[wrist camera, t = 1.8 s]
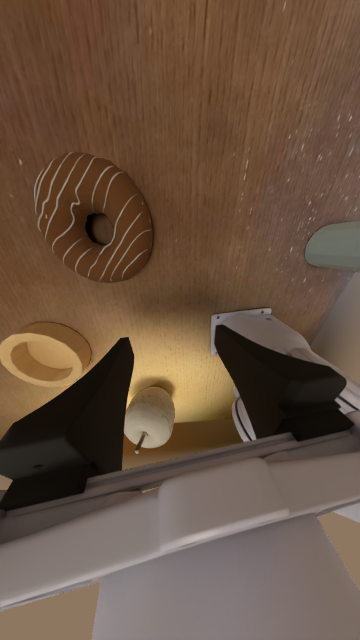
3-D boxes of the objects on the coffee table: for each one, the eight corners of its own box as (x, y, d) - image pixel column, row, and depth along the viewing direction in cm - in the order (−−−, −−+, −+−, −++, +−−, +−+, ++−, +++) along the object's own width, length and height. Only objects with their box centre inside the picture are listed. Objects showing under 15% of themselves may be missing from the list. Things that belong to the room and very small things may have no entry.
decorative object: (176, 400, 31) (180, 460, 23) (137, 406, 31) (125, 470, 22) (169, 372, 27) (171, 433, 18) (124, 379, 27) (104, 444, 18)
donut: (166, 265, 18) (167, 269, 15) (90, 289, 19) (73, 299, 15) (130, 147, 13) (117, 112, 10) (27, 185, 14) (-20, 165, 10)
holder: (75, 317, 20) (61, 328, 18) (100, 367, 25) (92, 382, 22) (3, 326, 20) (-22, 338, 17) (42, 375, 25) (27, 391, 22)
